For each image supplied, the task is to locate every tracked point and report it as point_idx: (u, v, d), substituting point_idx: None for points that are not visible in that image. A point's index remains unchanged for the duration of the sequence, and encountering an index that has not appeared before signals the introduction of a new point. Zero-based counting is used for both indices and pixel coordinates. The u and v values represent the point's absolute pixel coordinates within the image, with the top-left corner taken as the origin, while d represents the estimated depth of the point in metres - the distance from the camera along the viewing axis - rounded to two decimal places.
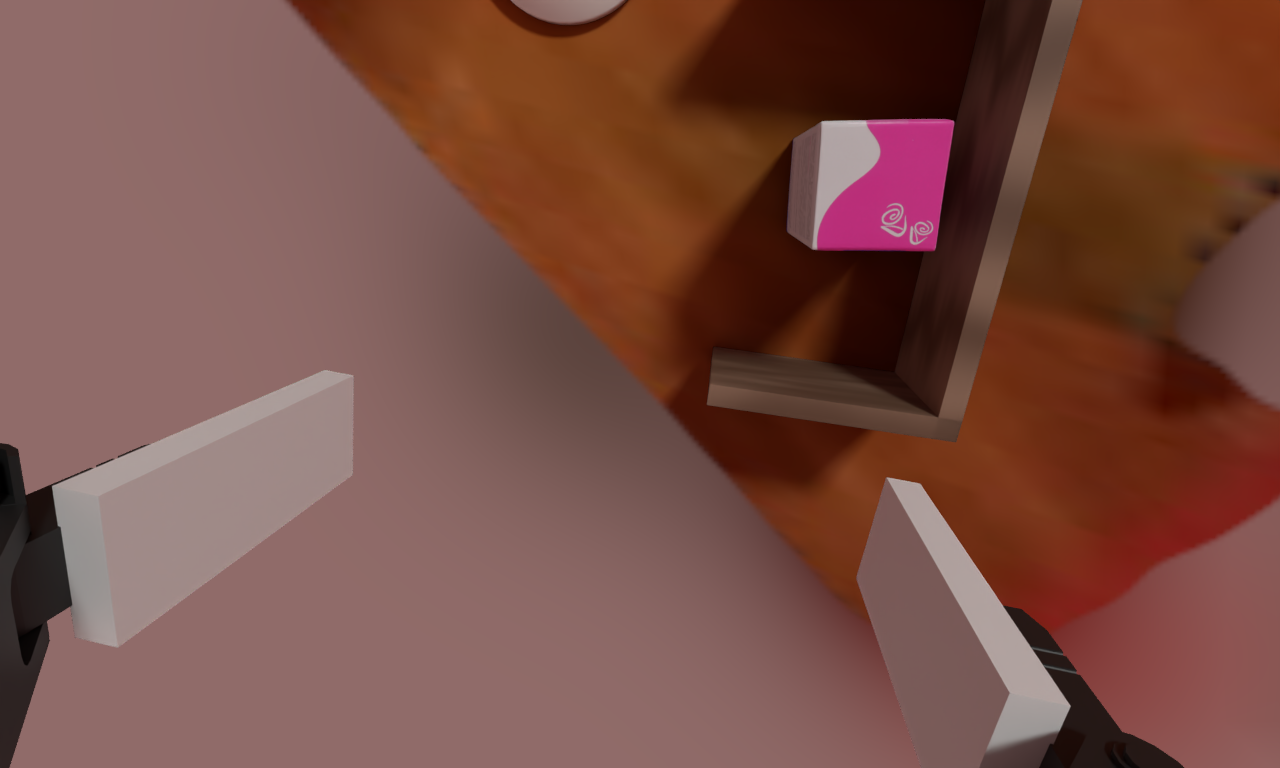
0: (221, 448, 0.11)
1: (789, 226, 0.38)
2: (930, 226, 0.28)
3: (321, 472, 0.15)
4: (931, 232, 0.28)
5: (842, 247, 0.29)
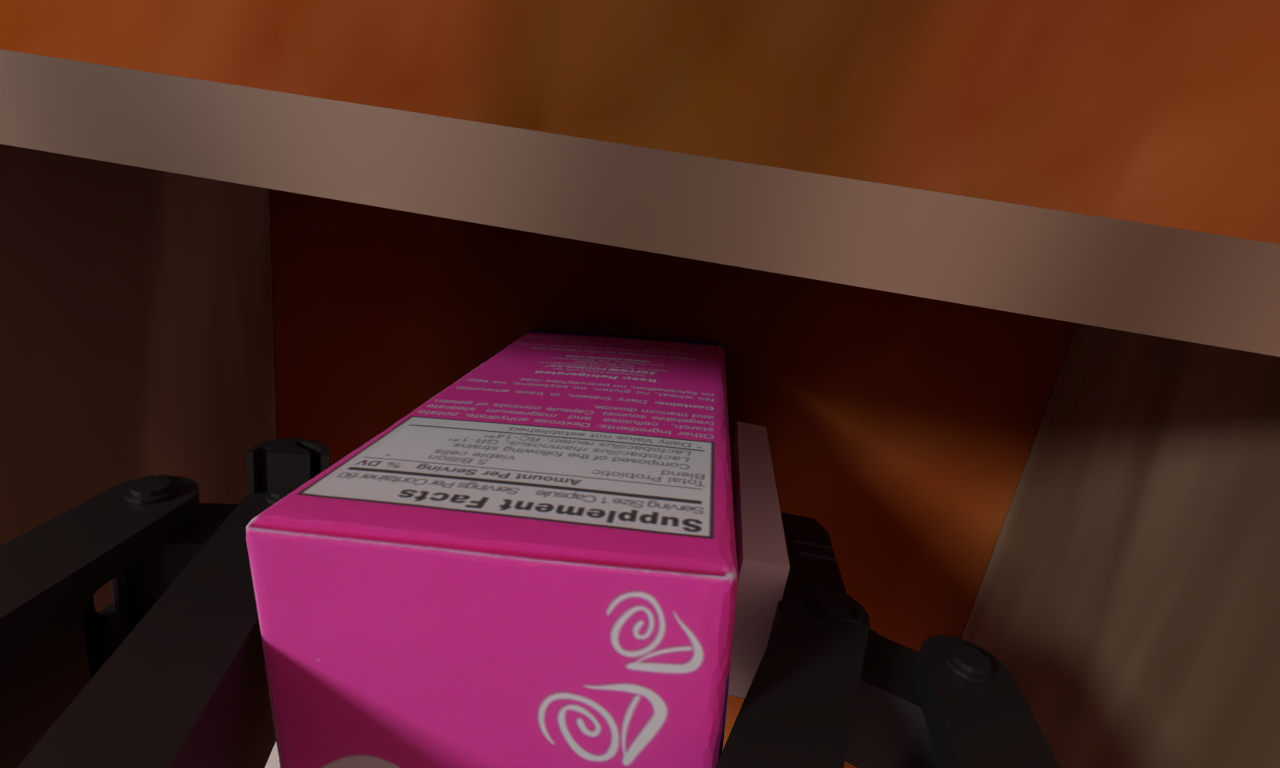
0: None
1: None
2: (630, 601, 0.07)
3: None
4: (654, 598, 0.07)
5: None
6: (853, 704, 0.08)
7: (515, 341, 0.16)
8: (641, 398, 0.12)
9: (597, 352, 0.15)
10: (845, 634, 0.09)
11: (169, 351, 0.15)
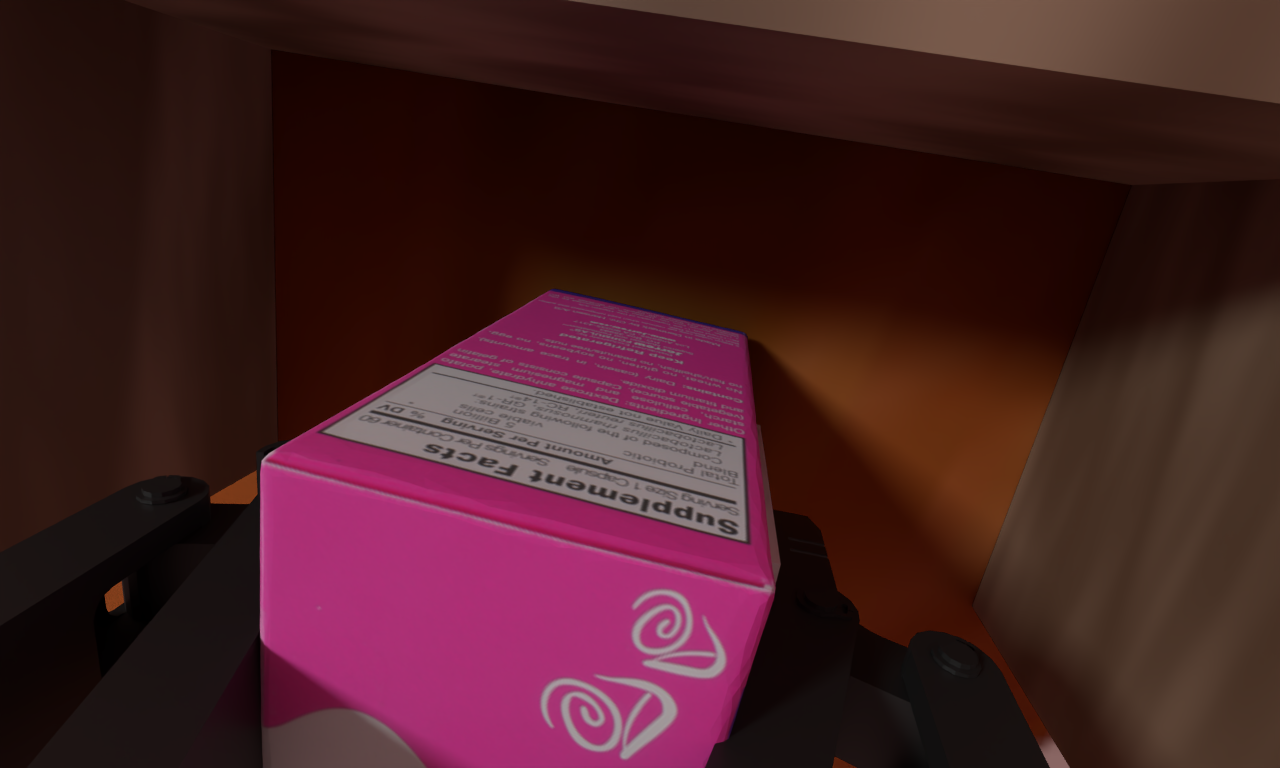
0: None
1: None
2: (660, 599, 0.06)
3: None
4: (685, 599, 0.06)
5: None
6: (843, 699, 0.08)
7: (537, 298, 0.15)
8: (668, 378, 0.11)
9: (622, 322, 0.15)
10: (835, 629, 0.09)
11: (165, 239, 0.14)
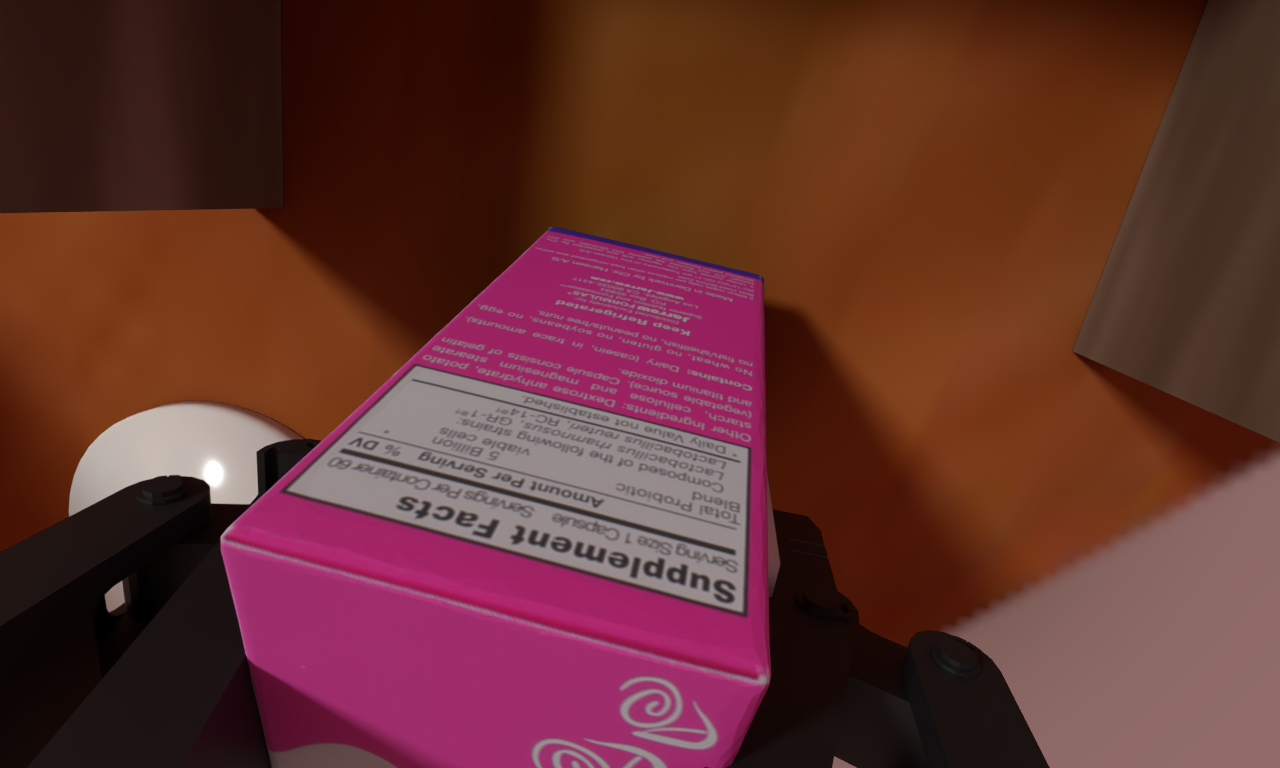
0: None
1: None
2: (648, 684, 0.06)
3: None
4: (674, 687, 0.06)
5: None
6: (843, 699, 0.08)
7: (534, 244, 0.14)
8: (672, 361, 0.11)
9: (625, 276, 0.13)
10: (835, 629, 0.09)
11: None
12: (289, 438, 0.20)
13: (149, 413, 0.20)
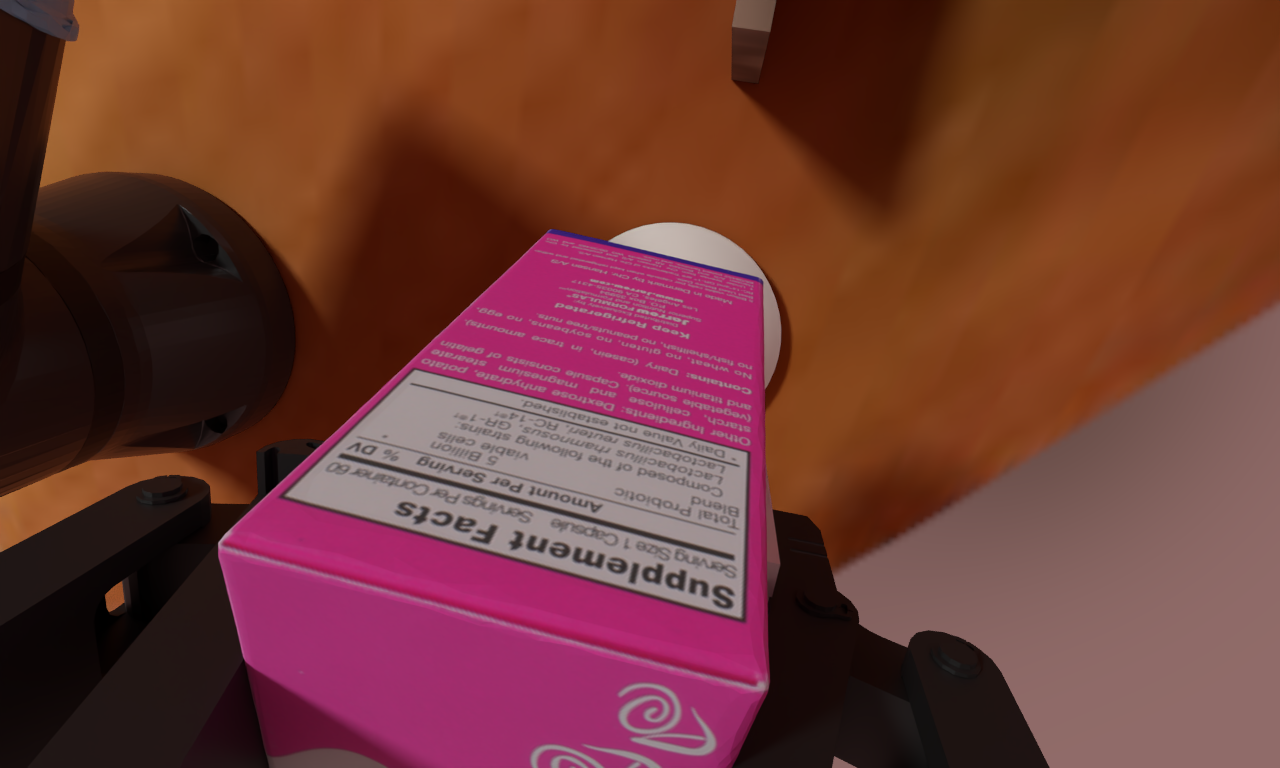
0: None
1: None
2: (646, 690, 0.06)
3: None
4: (673, 693, 0.06)
5: None
6: (843, 699, 0.08)
7: (534, 246, 0.14)
8: (671, 364, 0.11)
9: (625, 278, 0.13)
10: (835, 629, 0.09)
11: None
12: (735, 244, 0.30)
13: (642, 227, 0.30)
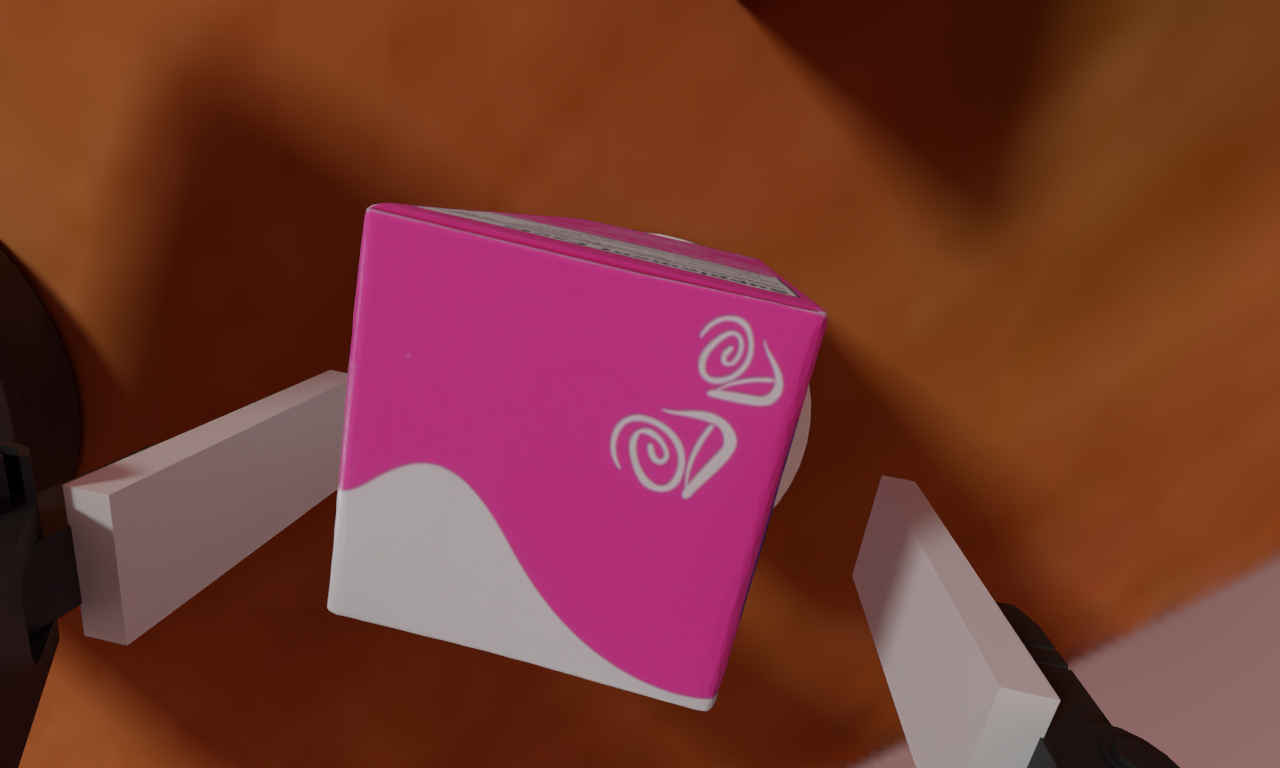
0: (229, 447, 0.11)
1: None
2: (725, 325, 0.07)
3: (327, 471, 0.15)
4: (748, 325, 0.07)
5: (727, 627, 0.08)
6: None
7: None
8: (701, 254, 0.12)
9: (648, 235, 0.16)
10: None
11: None
12: None
13: None
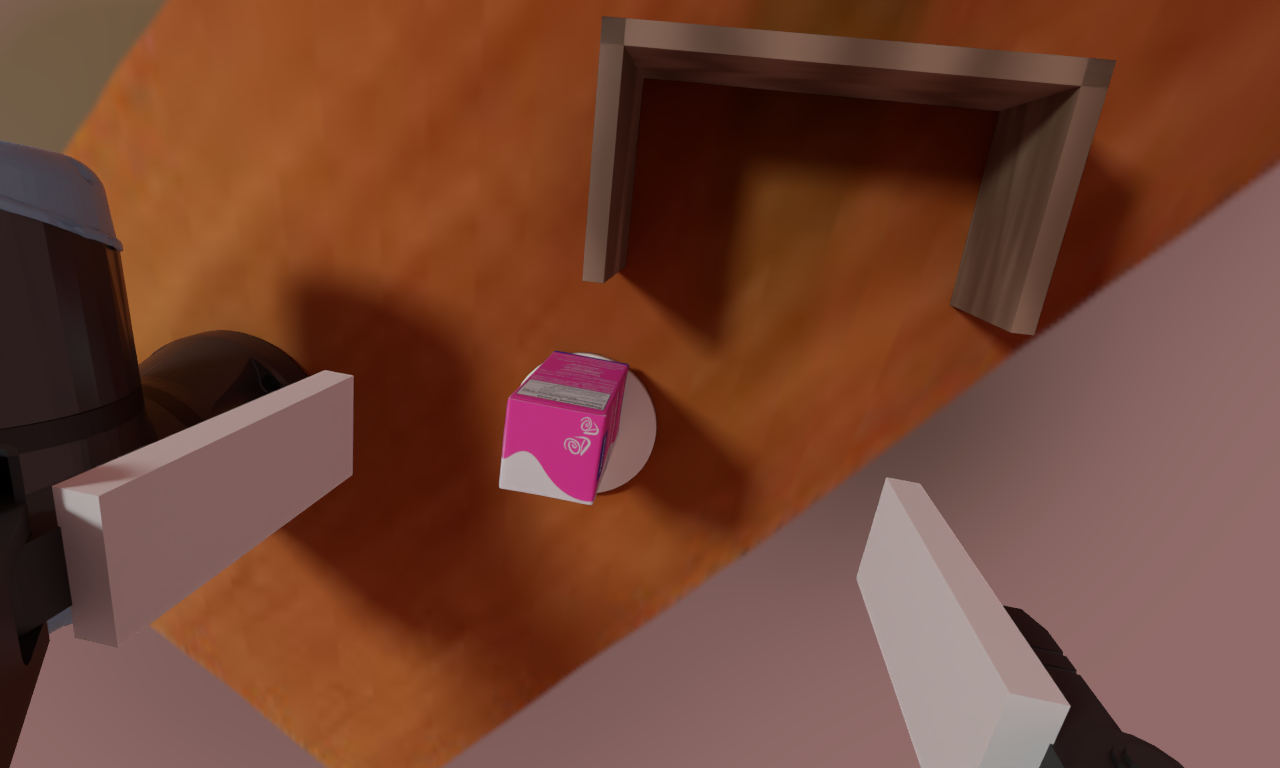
0: (221, 448, 0.11)
1: None
2: (585, 419, 0.34)
3: (321, 472, 0.15)
4: (590, 419, 0.34)
5: (593, 484, 0.35)
6: None
7: (550, 355, 0.43)
8: (593, 380, 0.39)
9: (581, 363, 0.42)
10: None
11: (628, 153, 0.38)
12: None
13: None
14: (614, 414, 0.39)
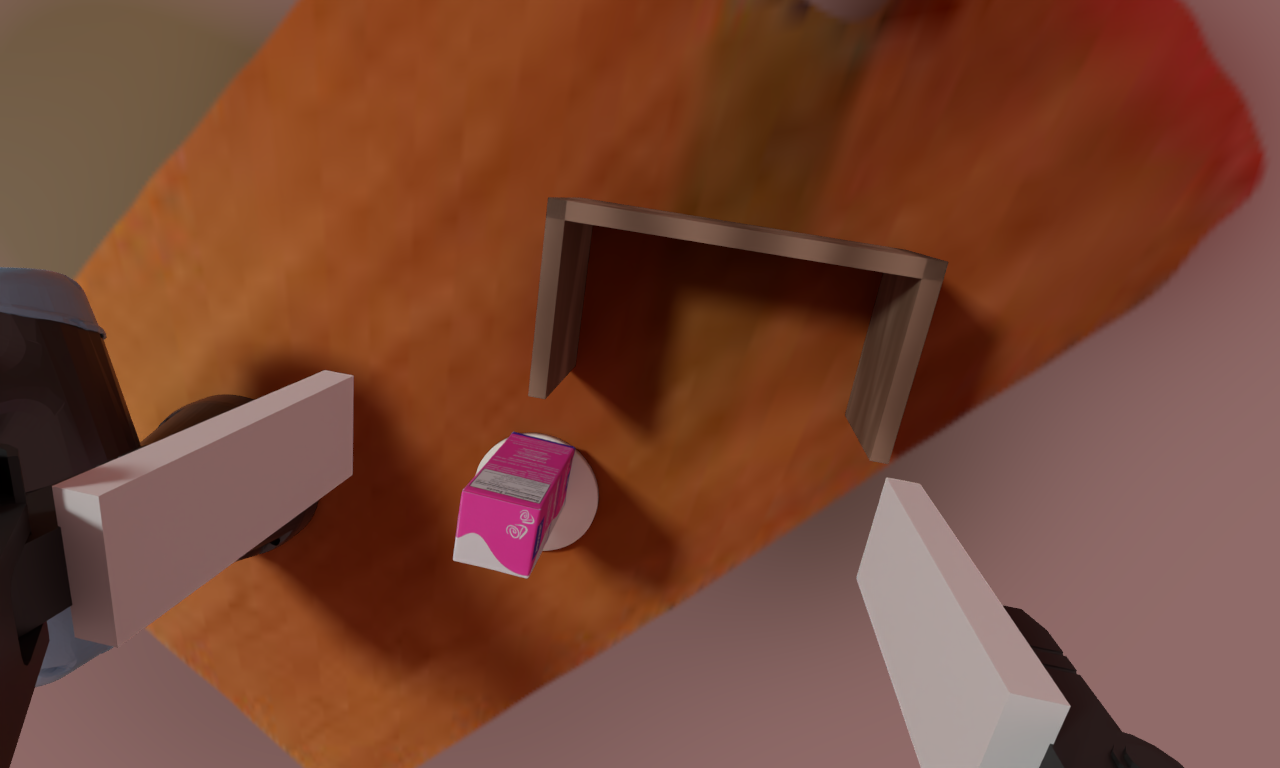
0: (221, 448, 0.11)
1: None
2: (524, 511, 0.42)
3: (321, 472, 0.15)
4: (527, 511, 0.42)
5: (529, 562, 0.43)
6: None
7: (508, 438, 0.51)
8: (539, 468, 0.47)
9: (532, 447, 0.50)
10: None
11: (575, 284, 0.46)
12: None
13: None
14: (554, 498, 0.46)
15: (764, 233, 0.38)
